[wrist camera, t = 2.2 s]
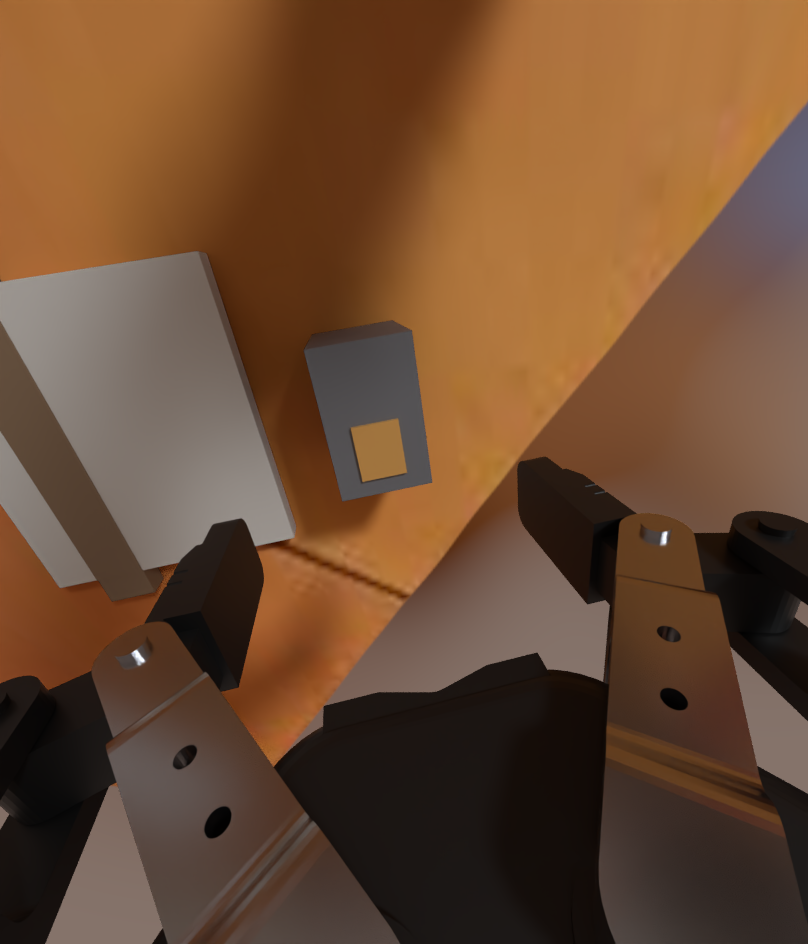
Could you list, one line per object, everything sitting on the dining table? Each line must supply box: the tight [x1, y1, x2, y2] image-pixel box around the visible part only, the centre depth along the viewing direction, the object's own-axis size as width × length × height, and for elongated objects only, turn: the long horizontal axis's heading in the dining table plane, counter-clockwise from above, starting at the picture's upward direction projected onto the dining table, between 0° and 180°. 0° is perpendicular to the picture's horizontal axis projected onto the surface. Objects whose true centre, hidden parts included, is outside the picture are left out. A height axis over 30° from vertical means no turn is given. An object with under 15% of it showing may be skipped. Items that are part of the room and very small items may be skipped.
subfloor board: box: [0, 251, 296, 601], centre depth 24 cm, size 16×22×2 cm
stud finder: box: [304, 320, 432, 501], centre depth 23 cm, size 5×8×7 cm, turn 9°
